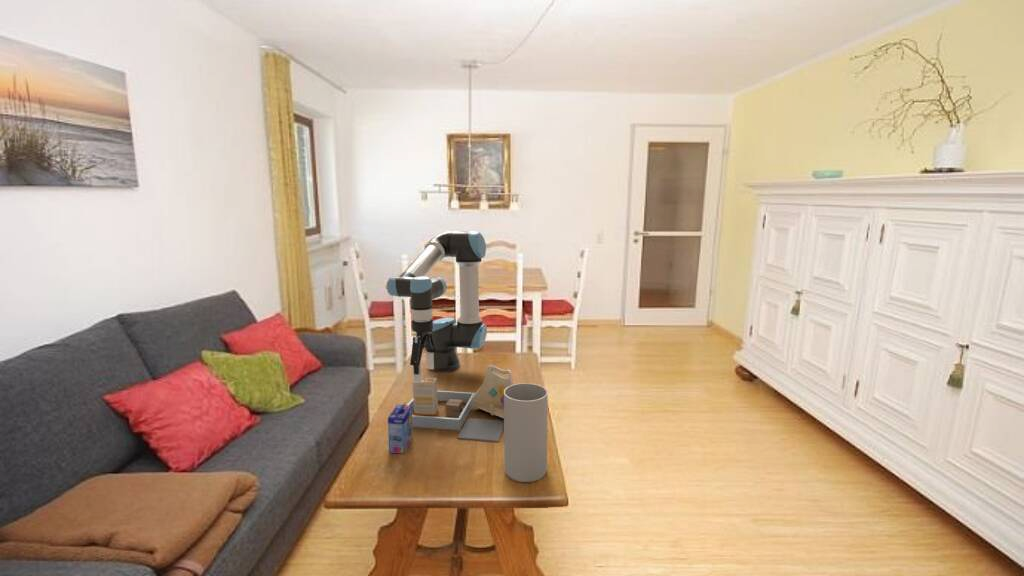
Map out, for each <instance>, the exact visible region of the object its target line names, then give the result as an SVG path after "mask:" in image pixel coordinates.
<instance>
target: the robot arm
mask: <svg viewBox="0 0 1024 576" xmlns="http://www.w3.org/2000/svg"><path fill="white" fill-rule="evenodd" d="M486 252H487V245H486V241H485V237H484V236H483V234H482V233H481V232H478V231H471V230H470V231H469V230H468V231H466V230H465V231H461V230H459V231H455V230H449V231H444V232H442V233H440V234H437V235H436V236H434V237H433V238H431V239H430V240H429V241H428V242H427V243H426V244H425V245H424V249H423V251H421V253H420V254H419V255H418V256H417V257H416V258H415V259H414V260H413V261H412V262H411V263H410V264H409V266H407V267H406V268H405V270H404V271H403V272H402V273H401V274H400V275H399V276H391V277H389V278H388V280H387V281H386V290H387V293H388V295H389V296H392V297H398V298H399V297H400V298H401V297H403V298H410V308H411V310H410V313H411V320H412V321H411V330H412V331H413V332H414V333H415V334H416V336H413V337H412V348H411V356H410V363H409V365H410V366H412V373H413V377H412V378H413V381H414V382H418V383H421V382H422V378H423V377H422V364H421V360H422V357H423V351H424V349H425V350H426V352H425V358H426V359H425V361H426V364H425V365H426V370H431V371H433V372H438V373H440V372H441V373H445V372H451V371H455V370H457V369H459V368H460V366H461V365H460V364H461V363H460V359H459V356H458V353H457V350H456V349H457V348H463V349H470V350H473V349H476V350H478V349H481V348H482V347H483V346H484V344H485V342H486V339H487V334H488V327H487V324H485V323H483V318H482V317H481V316H480V301H479V300H480V298H479V297H480V294H479V292H480V291H479V289H480V288H479V285H480V283H479V265H480V264H481V262H482V259H483V258H485V256H486ZM448 257H449V258H455V262H456V264H457V265H458V269H459V271H458V272H459V307H460V308H459V309H460V310H459V311H460V314H459V315H460V316H459V318H457V320H456V319H455V318H454V317H442V318H438V319H435V320H433V318H434V315H433V314H434V313H433V300H435V299H437V298H440V297H442V296H443V295H444V294H445V293H446V291H447V288H448V287H447V283H446V281H445V280H444V279H443V278H442V277H439V276H438V277H436V276H435V277H430V276H427V275H428V273H429V272H430V271H431V270H432V269H433V267H434V266H435V265H436V264H437V263H438V262H439V261H442V260H443V259H445V258H448Z"/></svg>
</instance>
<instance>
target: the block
mask: <svg viewBox="0 0 1024 576" xmlns="http://www.w3.org/2000/svg"><path fill="white" fill-rule="evenodd" d="M463 409H464V408H463V402H462V400H456V399H449V401H446V403H445V418H459V416H460V415H461V413H462V411H463Z"/></svg>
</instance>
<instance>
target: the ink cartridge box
mask: <svg viewBox="0 0 1024 576" xmlns="http://www.w3.org/2000/svg"><path fill="white" fill-rule="evenodd" d="M412 415H413V411H412V406H410V405H407V402H404V404H397V405H395V407H394V408H393V410H392V412H391V413H390V414H389V415H388V417H387V431H388V434H387V435H388V453H393V454H394V453H395V454H405V453H406V451H407V450H408V447H409V446H410V444H411V442H412V440H413V427H412Z"/></svg>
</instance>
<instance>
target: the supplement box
mask: <svg viewBox="0 0 1024 576" xmlns="http://www.w3.org/2000/svg"><path fill="white" fill-rule="evenodd" d="M437 381H438V380H437V378H435V377H428V378H427V377H422V382H421V383H418V382H414V380H413V381H412V398H413V400H414V410H413V415H417V416H436V415H437V413H438V411H439V404H438V403H439V401H438V398H437V391H438V384H437V383H438V382H437Z"/></svg>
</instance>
